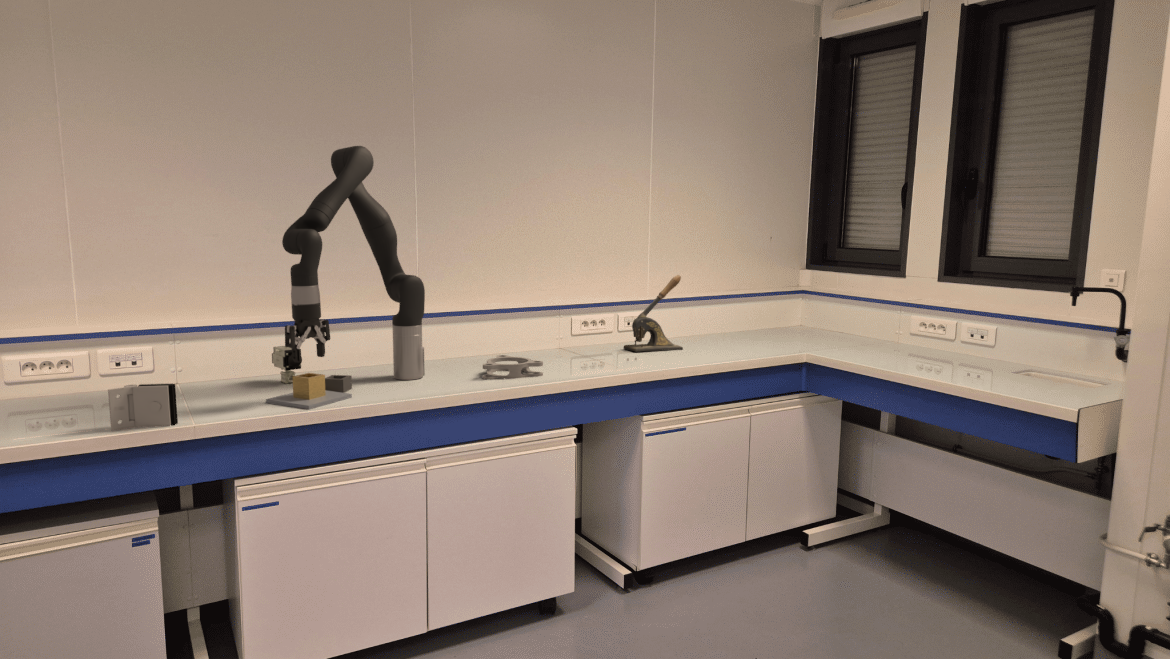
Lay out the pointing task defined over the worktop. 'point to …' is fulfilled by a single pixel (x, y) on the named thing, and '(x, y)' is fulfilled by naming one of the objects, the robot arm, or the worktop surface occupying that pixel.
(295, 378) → the brass collar
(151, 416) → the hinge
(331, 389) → the grey hollow square block
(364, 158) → the robot arm
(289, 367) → the pneumatic valve
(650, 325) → the embossing press
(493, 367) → the mechanical component
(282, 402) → the post block
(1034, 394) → the worktop surface
